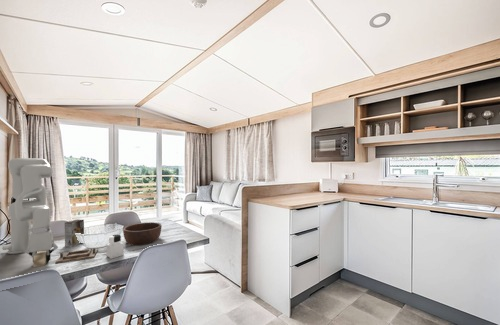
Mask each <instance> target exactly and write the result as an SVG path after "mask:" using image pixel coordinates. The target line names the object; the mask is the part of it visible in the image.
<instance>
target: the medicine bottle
mask: <svg viewBox="0 0 500 325" xmlns="http://www.w3.org/2000/svg"><path fill="white" fill-rule="evenodd" d="M108 241H109V243H107V244H106V246H105V247H106V248H105V249H106V256H107V257H108V258H109V259H116V258H119V257H122V256H124V255H125V250H124V248H125V245H124V243H123V242H122V237H121V234H112V235H110V236H109V237H108Z"/></svg>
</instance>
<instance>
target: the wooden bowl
mask: <svg viewBox="0 0 500 325" xmlns="http://www.w3.org/2000/svg"><path fill="white" fill-rule="evenodd" d="M122 232H123V238H124V240H125V243H127V244H129V245H131V246H143V245H149V244H152V243H154V242H156V241H158V239H159V238H160V236H161V233H162V224H161V223H159V222H153V221H152V222H151V221H149V222H147V221H146V222H139V223H138V222H137V223H134V224H130V225H127V226H124V228H122Z"/></svg>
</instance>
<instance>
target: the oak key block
mask: <svg viewBox="0 0 500 325" xmlns="http://www.w3.org/2000/svg"><path fill="white" fill-rule="evenodd" d="M46 255H47V253H46V251H39V252H37V253H36V254H35V255H34V256H33V257H32V263H33V264H32V265H33V267H32V268H36V267H43V266H45V265H47V263H46Z"/></svg>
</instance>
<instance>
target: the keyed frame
mask: <svg viewBox="0 0 500 325" xmlns="http://www.w3.org/2000/svg"><path fill="white" fill-rule="evenodd" d="M98 252H99V249H98V248H95V247H94V248H88V249H80V250H73V251H67V252H65V253H64V252H60V253H59V257H58V258H57V260H55V261H54V262H55V264H60V263H67V262H68V263H69V262H74V261H83V260H88V259H95V256H96V255H97V253H98Z"/></svg>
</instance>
